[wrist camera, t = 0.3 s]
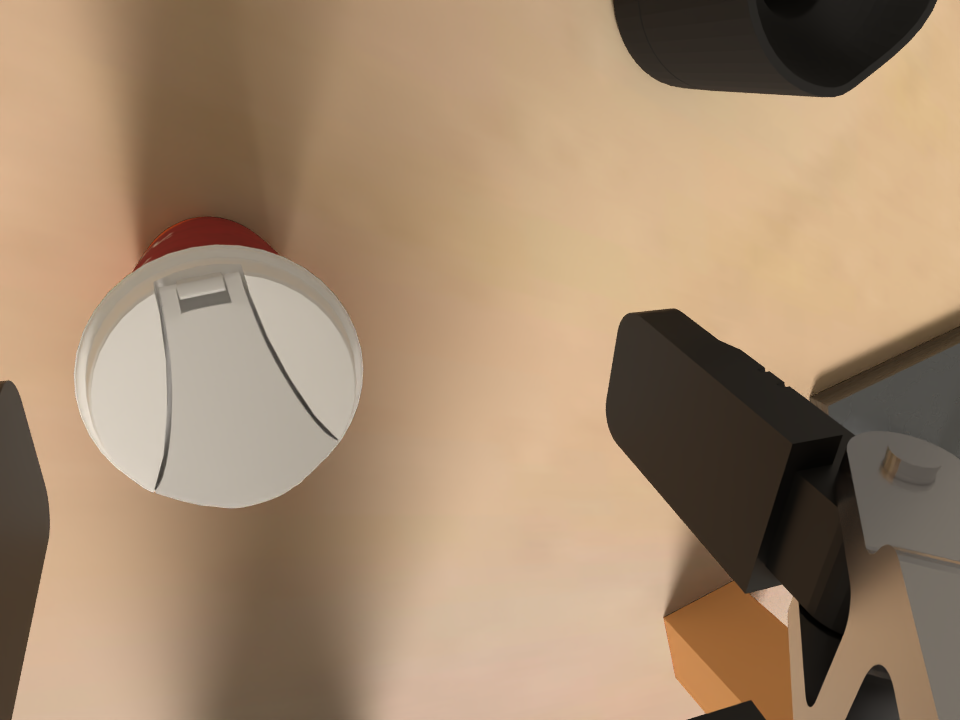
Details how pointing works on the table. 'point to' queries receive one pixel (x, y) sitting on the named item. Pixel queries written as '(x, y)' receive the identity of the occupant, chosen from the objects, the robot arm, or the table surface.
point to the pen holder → (767, 42)
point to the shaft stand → (904, 395)
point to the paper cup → (218, 368)
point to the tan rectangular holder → (732, 653)
